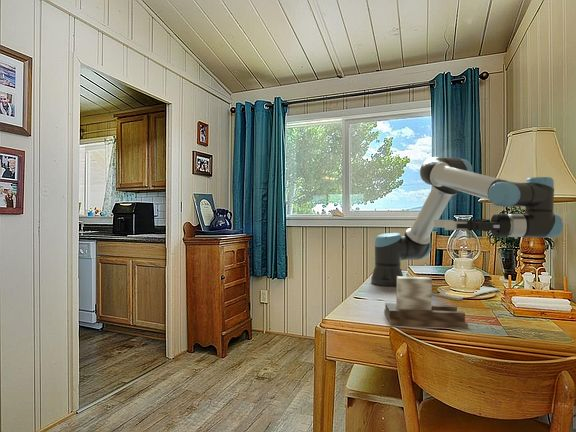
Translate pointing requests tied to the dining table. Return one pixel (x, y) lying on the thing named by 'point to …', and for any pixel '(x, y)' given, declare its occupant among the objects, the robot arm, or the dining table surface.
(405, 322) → the groove board
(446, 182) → the robot arm
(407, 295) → the pale grey rectangular block
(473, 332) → the dining table surface
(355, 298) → the dining table surface
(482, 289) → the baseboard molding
